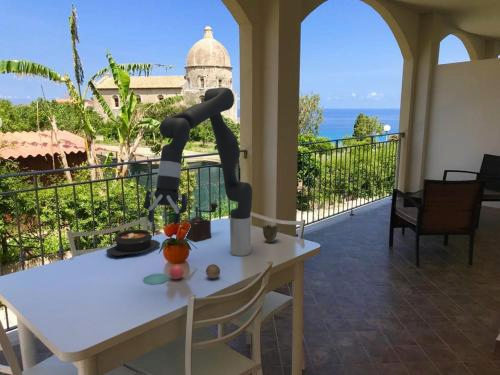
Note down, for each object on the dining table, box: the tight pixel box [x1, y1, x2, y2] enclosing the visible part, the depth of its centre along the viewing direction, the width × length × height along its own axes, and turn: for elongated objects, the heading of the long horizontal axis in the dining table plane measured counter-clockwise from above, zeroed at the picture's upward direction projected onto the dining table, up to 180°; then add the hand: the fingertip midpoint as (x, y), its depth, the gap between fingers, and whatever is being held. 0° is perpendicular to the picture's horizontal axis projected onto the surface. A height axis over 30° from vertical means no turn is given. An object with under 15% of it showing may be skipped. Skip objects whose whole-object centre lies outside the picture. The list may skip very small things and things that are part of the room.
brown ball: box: [205, 263, 221, 280], centre depth 149 cm, size 6×6×6 cm
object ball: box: [169, 264, 185, 280], centre depth 149 cm, size 6×6×6 cm
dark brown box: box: [183, 202, 219, 243], centre depth 200 cm, size 16×11×18 cm
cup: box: [262, 224, 278, 244], centre depth 192 cm, size 8×7×8 cm
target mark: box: [142, 273, 170, 286], centre depth 149 cm, size 10×10×1 cm
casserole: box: [105, 229, 161, 257], centre depth 180 cm, size 25×19×8 cm
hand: (163, 223), depth 130 cm, fingers open, 8 cm apart
